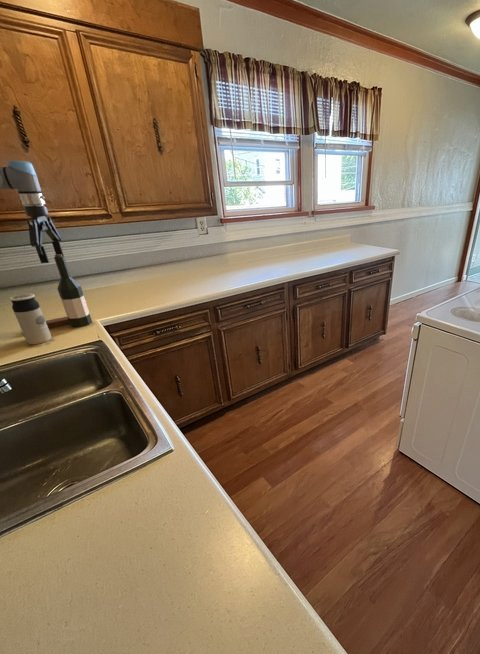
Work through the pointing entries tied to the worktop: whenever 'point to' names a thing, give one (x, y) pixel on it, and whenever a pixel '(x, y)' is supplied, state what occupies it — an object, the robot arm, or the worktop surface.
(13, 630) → the worktop surface
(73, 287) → the wine bottle
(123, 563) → the worktop surface
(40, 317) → the travel mug
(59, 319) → the granola bar
